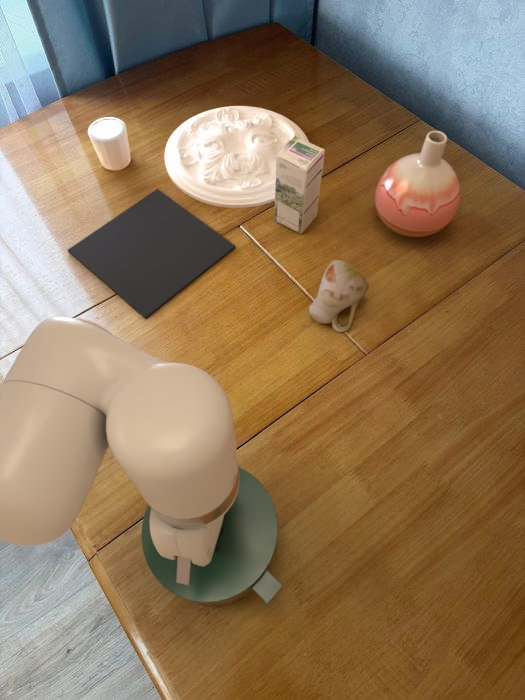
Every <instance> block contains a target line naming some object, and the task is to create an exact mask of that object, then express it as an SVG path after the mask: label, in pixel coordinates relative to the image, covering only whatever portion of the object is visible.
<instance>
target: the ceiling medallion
mask: <svg viewBox="0 0 525 700" xmlns="http://www.w3.org/2000/svg"><path fill="white" fill-rule="evenodd" d="M295 136H296V137H298V138H300V139H302V140H304V141H307V142H309V143H310V141H309V139H308V137H307V135H306V134H305V132H304V131H303V130H302V128H301V127H300V126H299V125H298V124H296V123H295V122H294V121H292V120H291V119H289V118H288V117H286V116H284V115H283V114H280V113H278V112H275V111H272V110H269V109H266V108H262V107H256V106H251V105H249V106H248V105H229V106H222V107H217V108H213V109H209V110H206V111H203V112H200V113H198V114H196V115H194V116H192V117H190V118H188V119H187V120H186V121H184V122H183V123H181V124H180V125H179V126H178V127H177V128H176V129H175V130H174V131H173V132H172V134H171V135H170V137H169V138H168V141H167V142H166V146H165V150H164V164H165V169H166V172H167V174H168V177H169V178H170V180H171V181H172V183H173V184H174V185H175V186H176V187H177V188H178V189H179V190H180V191H181V192H182V193H184V194H185V195H186V196H189V198H192V199H194V200H196V201H198V202H200V203H203V204H207V205H211V206H213V207H217V208H219V207H220V208H227V209H247V208H255V207H260V206H264V205H268V204H271V203H273V202H275V183H276V155H277V154H278V153H279V151H280V150H281V149H282V148H283V147H284V146H285V145H286V144H287V143H288V142H289V141H290V140H291V139H292V138H293V137H295Z"/></svg>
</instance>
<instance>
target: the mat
mask: <svg viewBox="0 0 525 700" xmlns="http://www.w3.org/2000/svg"><path fill="white" fill-rule="evenodd" d="M236 248H237V247H236V245H235V244H234V243H232V242H231V241H230V240H228V239H227V238H226V237H224V236H223V235H222V234H220V233H219V232H217V231H216V230H215V229H213V228H212V227H211V226H209V225H208V224H206V223H205V222H204V221H202V220H201V219H199V218H198V217H197V216H195V215H194V214H193V213H191V212H190V211H189V210H187V209H186V208H185V207H184V206H182V205H180V204H179V203H178V202H176V201H175V200H174V199H172V198H171V197H170V196H168V195H167V194H165V193H164V192H163V191H161V189H158V188H156V189H154V190H153V191H152V192H150V193H149V194H147V195H146V196H144V197H143V198H142V199H140V200H138V201H137V202H135V203H134V204H133V205H131V206H129V207H128V208H127V209H125V210H124V211H122V212H120V213H119V214H118V215H116V216H115V217H113V218H112V219H110V220H109V221H107V222H106V223H105V224H103V225H102V226H100V227H99V228H97V229H95V230H94V231H93V232H91V233H90V234H89V235H87V236H85V237H84V238H82V239H81V240H79V241H78V242H77V243H75V244H74V245H72V246H71V247H69V248H68V249H67V253H69V254H70V255H71V256H72V257H74V258H75V260H77V261H78V262H79V263H80V264H81V265H82V266H83V267H85V268H86V269H87V270H88V271H89V272H91V273H92V274H93V275H94V276H95V277H96V278H97V279H99V281H101V282H102V283H103V284H104V285H105V286H107V287H108V289H110V290H111V291H112V292H114V293H115V294H116V295H117V296H118V297H119V298H121V299H122V300H123V301H124V302H125V303H126V304H128V306H129V307H131V308H132V309H133V310H135V312H136V313H138V314H139V315H140V316H141V317H143V318H144V319H145V320H147V319H148V318H150V317H151V316H152V315H154V314H155V313H156V312H157V311H159V310H160V309H161V308H162V307H164V306H165V305H166V304H167V303H169V302H170V301H171V300H172V299H174V298H175V297H176V296H178V294H180V293H181V292H183V290H185V289H186V288H187V287H189V286H190V285H191V284H192V283H194V282H195V281H196V280H198V278H199V277H201V276H202V275H204V274H205V273H206V272H207V271H209V270H210V269H212V267H214V266H215V265H216V264H217V263H219V262H220V261H221V260H222V259H224V258H225V257H227V256H228V255H229V254H230V253H231V252H233V251H234V250H235V249H236Z"/></svg>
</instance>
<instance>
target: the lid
mask: <svg viewBox="0 0 525 700" xmlns="http://www.w3.org/2000/svg"><path fill="white" fill-rule="evenodd" d="M238 468H239V489H238V493H237V496H236V498H235V500H234V502H233V504H232V506H231V507H230V508H229V512H228V513H227V515H224V518H223V522H222V525H221V529H220V532H219V536H218V539H217V540H218V543H219V546H220V547H219V551H218V552H215V551H214V552H213V556H212V559H211V562H210V563H209V564H207V565H206V566H204V567H203V566H196V570H195V573H194V575H193V578H192V581H191V584H190V586H188V585H184V584H180V583H176V579H177V558H178V556H176V559H175V560H171V559H167V558H165V557H162V556H161V555H160V554H159V553H158V551H157V549H156V548H155V545H154V543H153V541H152V537H151V533H150V513H151V508H150V507H149V505H148V504H147V506H146V510H145V512H144V516H143V520H142V526H141V546H142V551H143V556H144V559H145V562H146V564H147V566H148V569H149V570H150V571H151V573H152V575H153V576H154V577H155V579H156V580H157V582H159V584H161V585H162V586H163V587H164V588H165V589H166V590H168V591H169V592H171V593H172V594H173V595H174V596H177V597H179V598H180V599H183V600H185V601H190V602H194V603H196V602H199V603H214V602H220V601H224V600H228V599H230V598H233V597H235V596H238V595H239V594H241V593H243V592H244V591H246V590H247V589H248V588H250V587H251V586H252V585H253V584H254V583H255V582H256V581H257V580H258V579H259V578H260V577H261V576H262V574H263V573H264V572H265V570H266V569H267V570H268V568H267V567H269V565H270V564H271V561H272V559H273V557H274V554H275V550H276V547H277V542H278V534H279V522H278V515H277V511H276V507H275V504H274V502H273V499H272V497H271V495H270V494H269V492H268V490H267V489H266V488H265V486H264V485H263V484H262V483H261V481H260V480H258V479H257V477H255V476H254V475H253V474H252V473H250V472H249V471H248V470H246V469H244V468H242V467H240V466H238Z"/></svg>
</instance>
